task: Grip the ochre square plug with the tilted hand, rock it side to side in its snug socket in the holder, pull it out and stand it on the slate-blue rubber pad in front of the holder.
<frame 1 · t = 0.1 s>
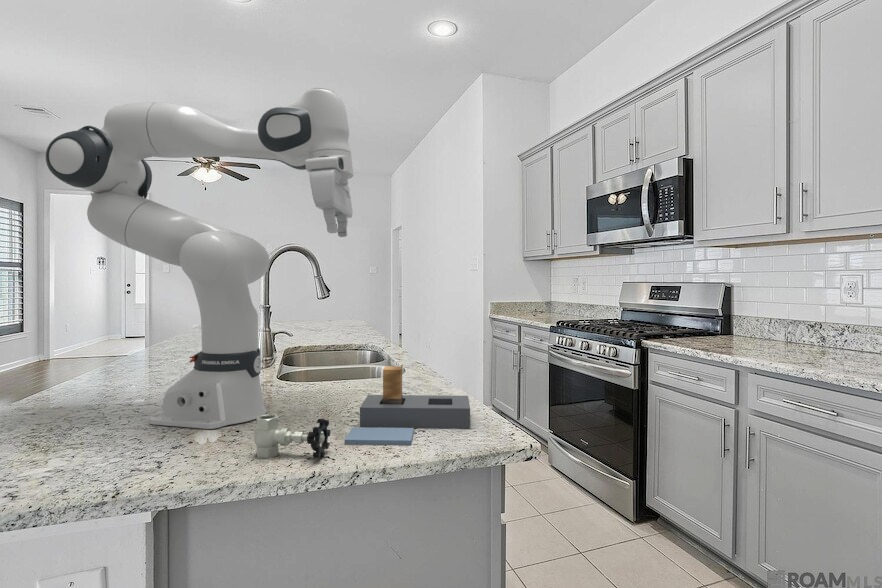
hand: (338, 235, 101), 39 cm above the counter, tool pointing down, fingers open, 8 cm apart
plug: (392, 420, 100), resting in holder
valve: (289, 457, 80), on the counter
holder: (416, 420, 100), on the counter
pad: (380, 437, 89), on the counter
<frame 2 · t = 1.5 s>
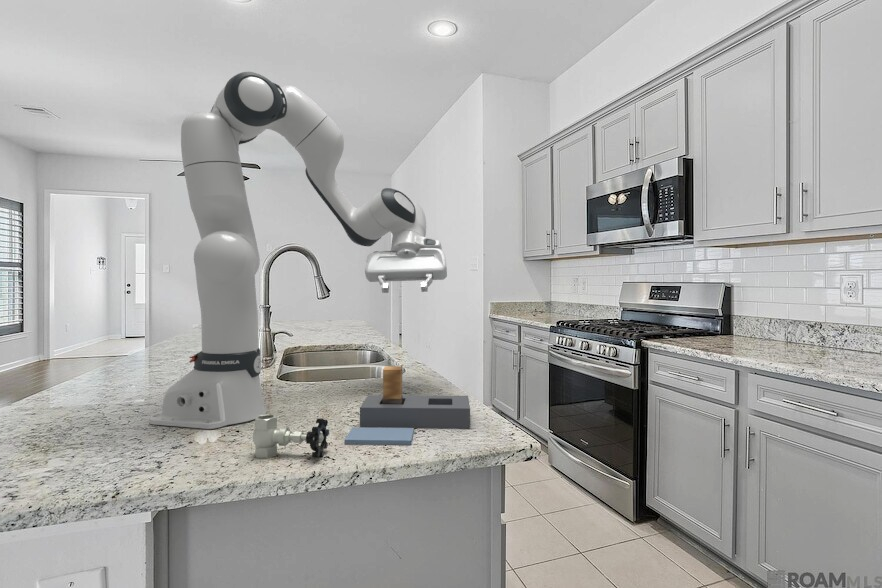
hand: (404, 290, 114), 27 cm above the counter, tool tilted 45°, fingers open, 8 cm apart
nothing on the counter moved.
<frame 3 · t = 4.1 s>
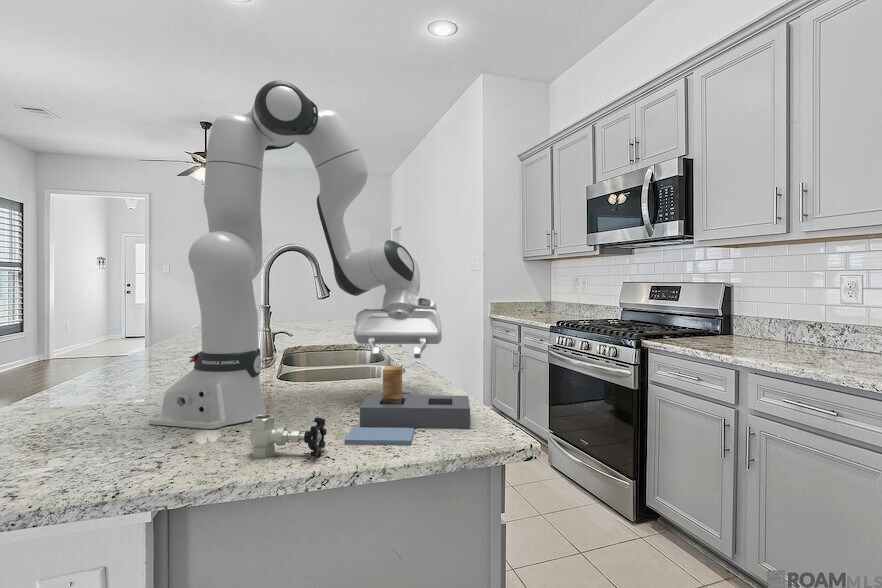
hand: (396, 356, 106), 12 cm above the counter, tool tilted 45°, fingers open, 8 cm apart
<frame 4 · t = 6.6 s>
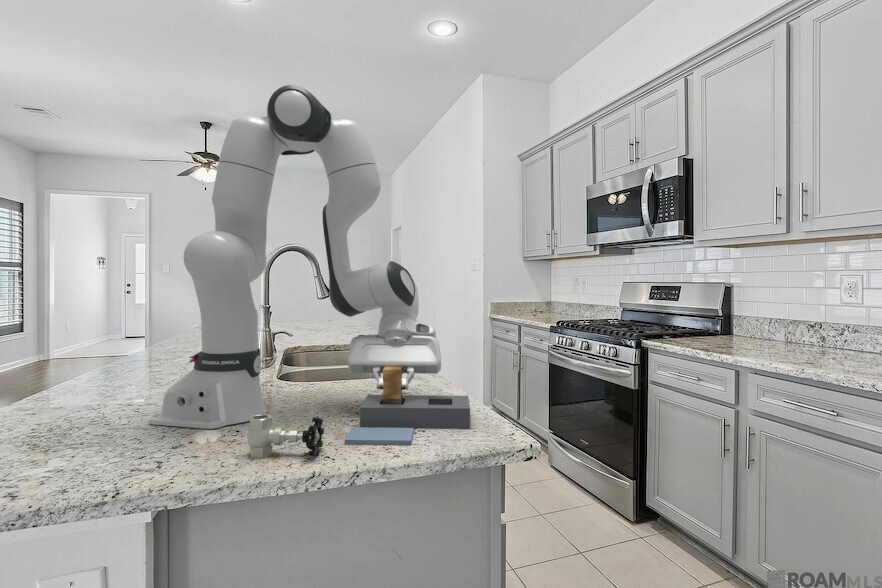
hand: (392, 388, 99), 7 cm above the counter, tool tilted 45°, fingers closed on plug, 4 cm apart
plug: (392, 420, 100), resting in holder, touching gripper
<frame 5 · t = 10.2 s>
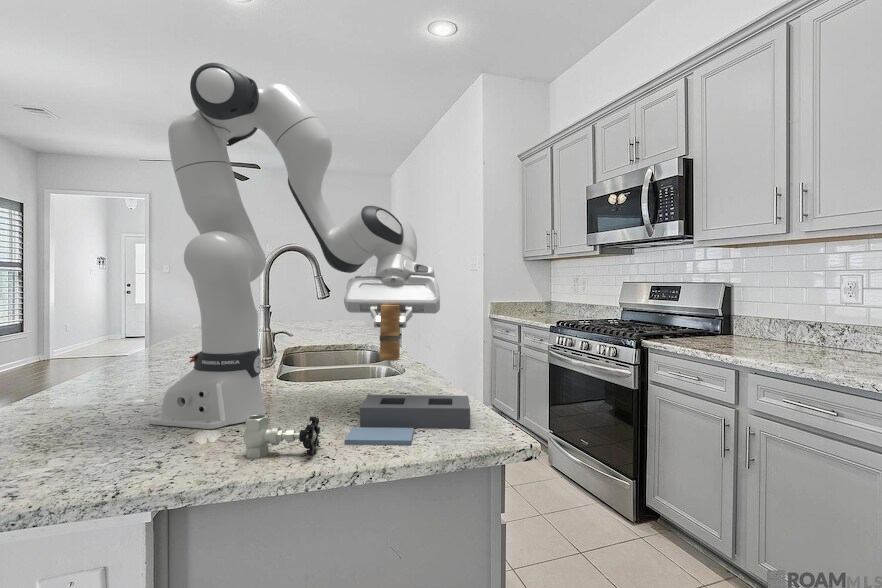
hand: (390, 325, 97), 20 cm above the counter, tool tilted 45°, fingers closed on plug, 4 cm apart
plug: (389, 358, 98), point 13 cm above the counter, touching gripper
when the fingers open (9 cm above the counter, at t = 13.9 s): plug drops 1 cm, resting on pad.
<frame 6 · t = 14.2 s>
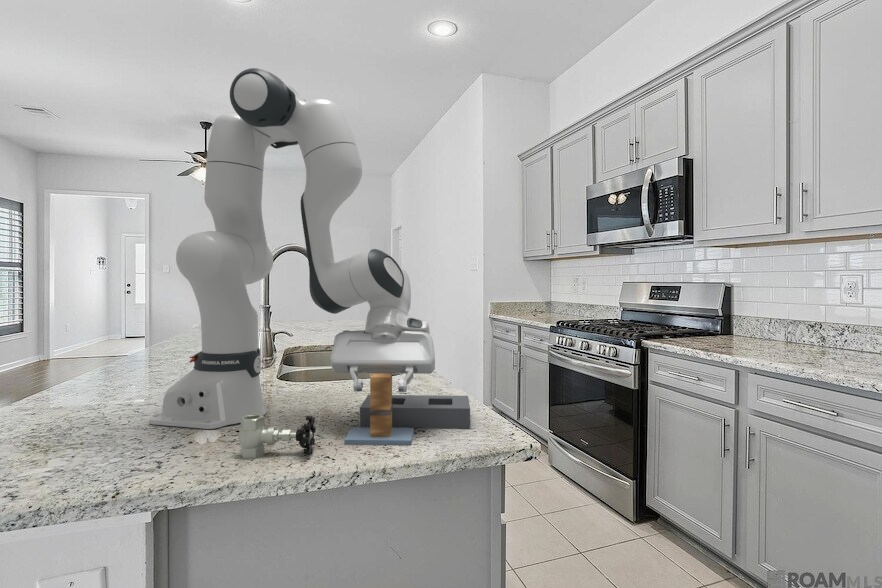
hand: (379, 390, 88), 9 cm above the counter, tool tilted 45°, fingers open, 7 cm apart
plug: (381, 433, 89), point 1 cm above the counter, touching pad
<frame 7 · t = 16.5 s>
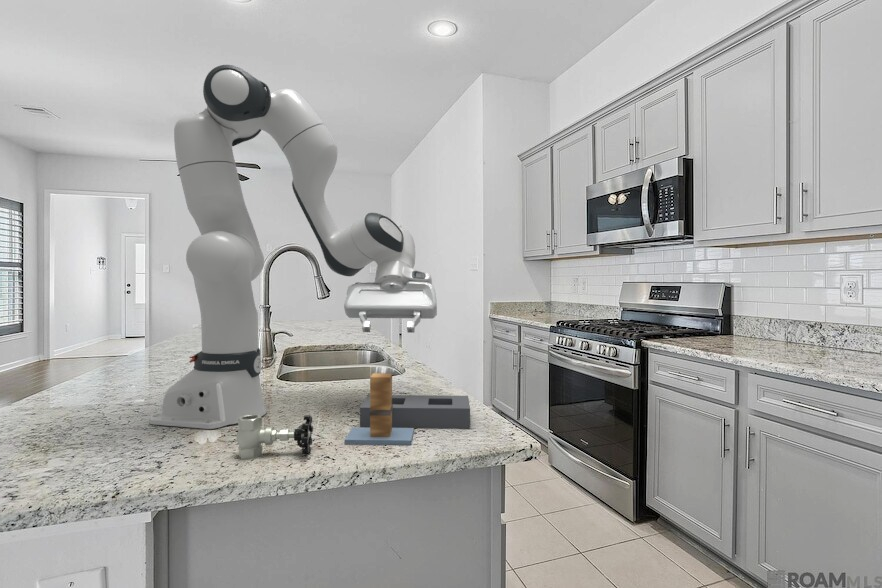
hand: (388, 330, 100), 19 cm above the counter, tool tilted 45°, fingers open, 8 cm apart
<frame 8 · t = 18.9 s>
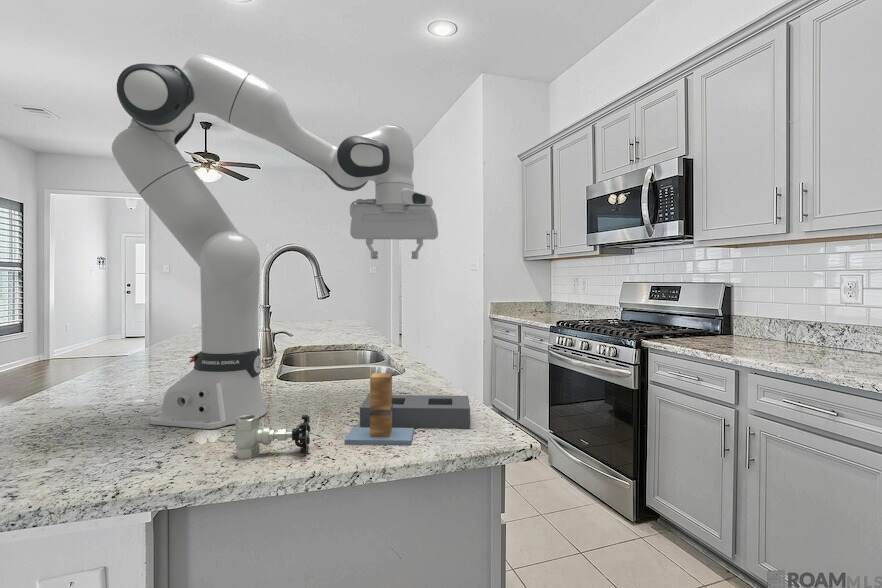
hand: (394, 259, 111), 34 cm above the counter, tool pointing down, fingers open, 8 cm apart
at the end: plug inside the target area on the pad (0.2 cm from its centre), point 0.8 cm above the pad's base; plug tilted 0°; the gripper is holding nothing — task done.
